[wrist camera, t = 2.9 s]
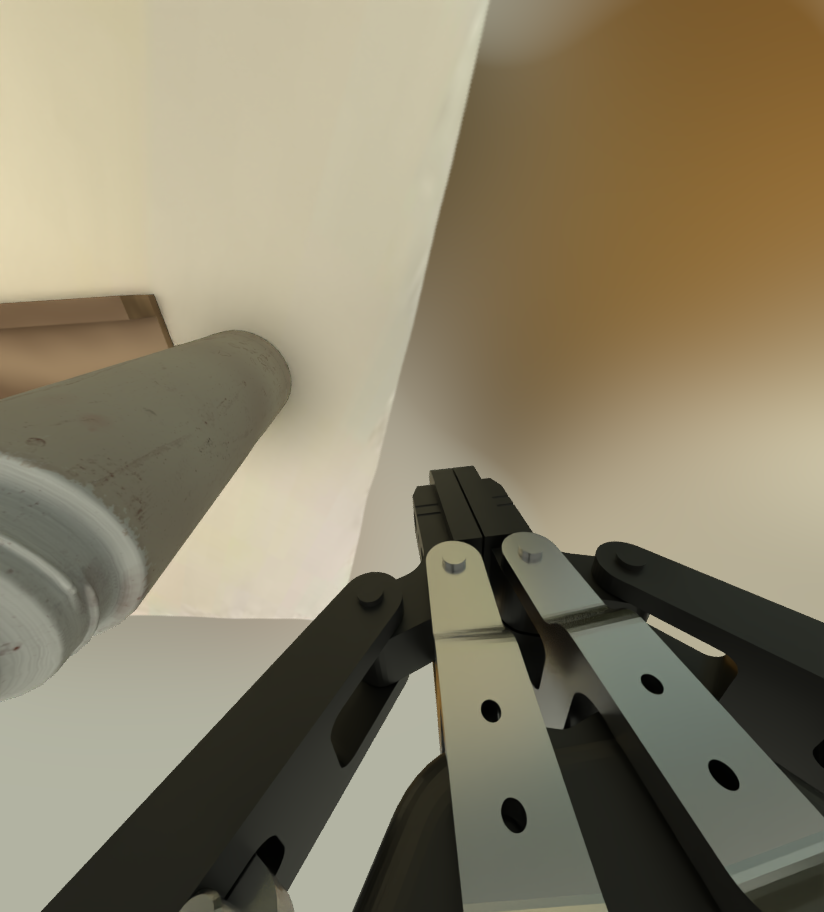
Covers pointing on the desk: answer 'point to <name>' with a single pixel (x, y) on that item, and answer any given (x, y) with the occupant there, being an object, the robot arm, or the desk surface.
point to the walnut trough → (74, 338)
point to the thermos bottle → (117, 486)
